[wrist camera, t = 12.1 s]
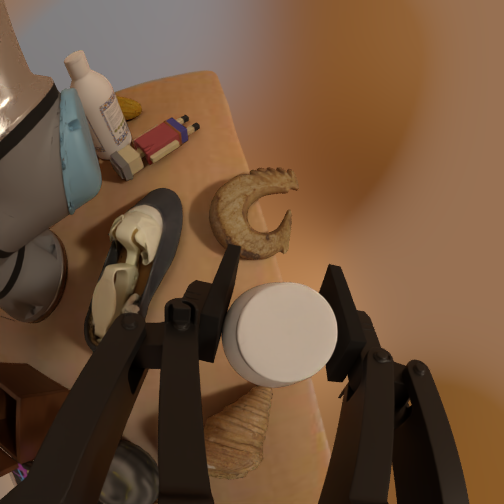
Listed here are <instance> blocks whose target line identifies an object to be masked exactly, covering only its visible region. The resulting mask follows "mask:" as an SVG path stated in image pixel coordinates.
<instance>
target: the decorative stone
mask: <svg viewBox="0 0 504 504" xmlns="http://www.w3.org/2000/svg"><path fill="white" fill-rule="evenodd" d="M158 495H159V472H158V465H157V463H156V462H155V460H154V459H153V458H152V457H151V456H150V455H149V453H147V452H146V451H145V450H143V449H142V448H141V447H139V446H137V445H135V444H133V443H131V442H129V441H124V440H120V441H119V444H118V446H117V449H116V452H115V454H114V457H113V460H112V463H111V465H110V468H109V471H108V474H107V477H106V479H105V482H104V485H103V488H102V491H101V494H100V497H99V501H100V502H102V503H103V504H153V503H154V502H155V501H156V500H157V499H158Z"/></svg>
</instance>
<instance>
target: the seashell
mask: <svg viewBox="0 0 504 504" xmlns="http://www.w3.org/2000/svg"><path fill="white" fill-rule="evenodd" d="M272 395H273V394H272V388H270V387H263V386H259V385H258V386H257V387H256V388H253V389H252V390H251V391H249V393H248V394H245V395H243V397H240V398H239V399H238V401H236V402H235V403H231V404H230V405H229V406H226V407H225V408H224V410H223V411H222V412H220V413H219V414H215V415H213V417H208V418H207V419H206V426H205V427H204V438H205V448H206V457H207V466H208V474H209V476H212V477H216V478H219V479H221V478H226V479H228V480H229V479H238V478H243V477H245V476H246V475H247V473H248V471H251V470H254V469H256V468H257V467H258V466H259V464H260V462H261V461H262V460H263V455H262V454H263V448H262V446H263V442H262V441H263V440H265V436H264V435H265V432H266V430H267V427H268V417H269V411H268V410H269V409H270V407H271V399H272Z"/></svg>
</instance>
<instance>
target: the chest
mask: <svg viewBox="0 0 504 504" xmlns="http://www.w3.org/2000/svg"><path fill="white" fill-rule="evenodd" d="M69 392H70V390H69V389H67V388H65V387H64V386H62V385H60V384H58V383H57V382H55V381H53V380H52V379H50V378H48V377H47V376H45V375H44V374H42V373H41V372H39V371H38V370H36V369H35V368H33V367H32V366H30V365H29V364H27V363H1V362H0V447H1V448H2V449H3V450H4V451H6V452H7V453H8V454H9V455H10V456H11V457H13V458H14V459H15V460H16V461H17V462H19V463H20V464H23V463H26V462H28V461H30V460H33V459H35V457H36V455H37V453H38V450H39V448H40V446H41V444H42V442H43V440H44V438H45V436H46V434H47V432H48V430H49V428H50V427H51V425H52V423H53V421H54V419H55V417H56V415H57V413H58V412H59V410H60V408H61V406H62V404H63V403H64V401H65V399H66V397H67V395H68V394H69Z"/></svg>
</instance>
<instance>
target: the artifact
mask: <svg viewBox="0 0 504 504" xmlns="http://www.w3.org/2000/svg"><path fill="white" fill-rule="evenodd" d="M290 189H293V190H296V191H297V190H298V189H299V186H298V181H297V178H296V176H295V173H294V172H293V171H292V170H291V169H288V170H287V172H286V171H285V170H284V169H282V168H277V169H276V170H275V169H273V168H267V169H264V168H258V169H257V171H256V170H251V171H250V175H249V174H242V175H239V176H236V177H234V178H232V179H231V180H229V181H228V182H227V183H225V184H224V185H223V186H222V187H221V188H220V189H219V190H218V191H217V192H216V194H215V196H214V198H213V200H212V202H211V206H210V211H209V219H210V225H211V229H212V232H213V234H214V236H215V237H216V239H217V240H218V242H219V243H220V244H221V245H222V246H223V247H224V248H225V249H227V246H228V244H233V245H238V246H241V252H240V257H241V258H245V259H251V260H257V259H264V258H268V257H270V256H273V255H274V254H276V253H278V252H282V253H283V254H284V253H286V252H287V251H288V246H289V240H290V233H291V224H292V218H291V217H292V215H291V210H288V211H287V212H286V214H285V217H284V219H283V221H282V222H281V224H280V226H279V227H278V228H277V229H276V230H274V231H272V232H269V233H260V232H257V231H255V230H254V229H252V228H251V227H250V225H249V223H248V220H247V210H248V208H249V206H250V205H251V204H252V203H253V202H254V201H256V200H257V199H259V198H261V197H263V196H266V195H271V194H278V193H288V191H289V190H290Z"/></svg>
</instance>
